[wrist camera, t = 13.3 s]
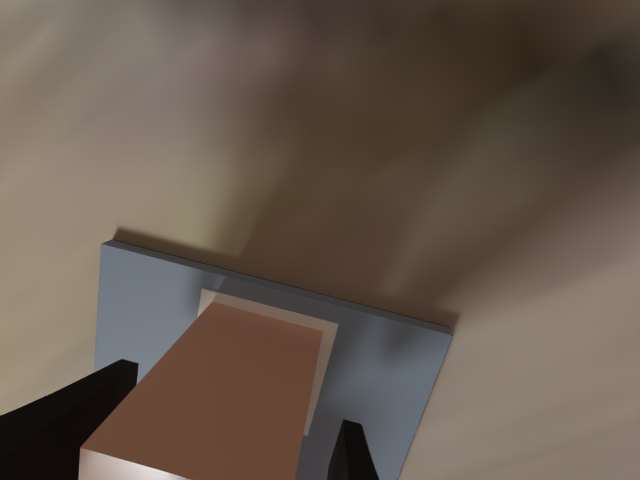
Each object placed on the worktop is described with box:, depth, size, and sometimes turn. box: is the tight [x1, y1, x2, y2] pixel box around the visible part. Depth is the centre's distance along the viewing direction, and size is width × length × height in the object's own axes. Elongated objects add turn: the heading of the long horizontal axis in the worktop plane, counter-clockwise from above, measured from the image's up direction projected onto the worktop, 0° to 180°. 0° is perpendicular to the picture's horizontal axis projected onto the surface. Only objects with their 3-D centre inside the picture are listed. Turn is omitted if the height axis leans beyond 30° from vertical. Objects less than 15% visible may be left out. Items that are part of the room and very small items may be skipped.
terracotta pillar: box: [79, 302, 323, 480], centre depth 11 cm, size 4×4×7 cm
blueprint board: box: [94, 240, 453, 480], centre depth 16 cm, size 14×16×1 cm
